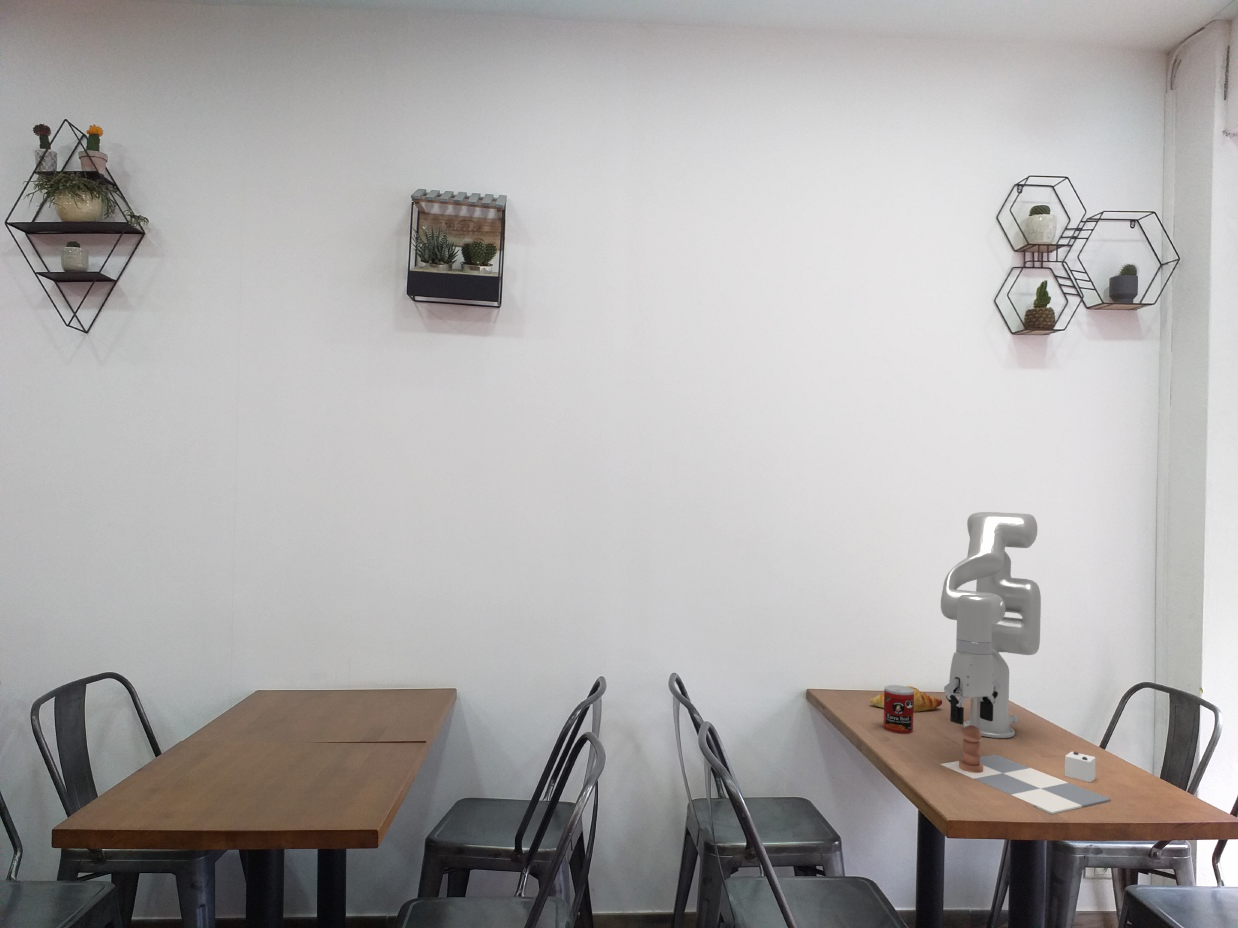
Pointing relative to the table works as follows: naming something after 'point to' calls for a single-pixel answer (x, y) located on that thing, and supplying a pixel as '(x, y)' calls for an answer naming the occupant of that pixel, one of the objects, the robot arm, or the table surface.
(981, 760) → the board
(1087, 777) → the die
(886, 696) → the canned food
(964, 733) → the pawn
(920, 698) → the croissant
